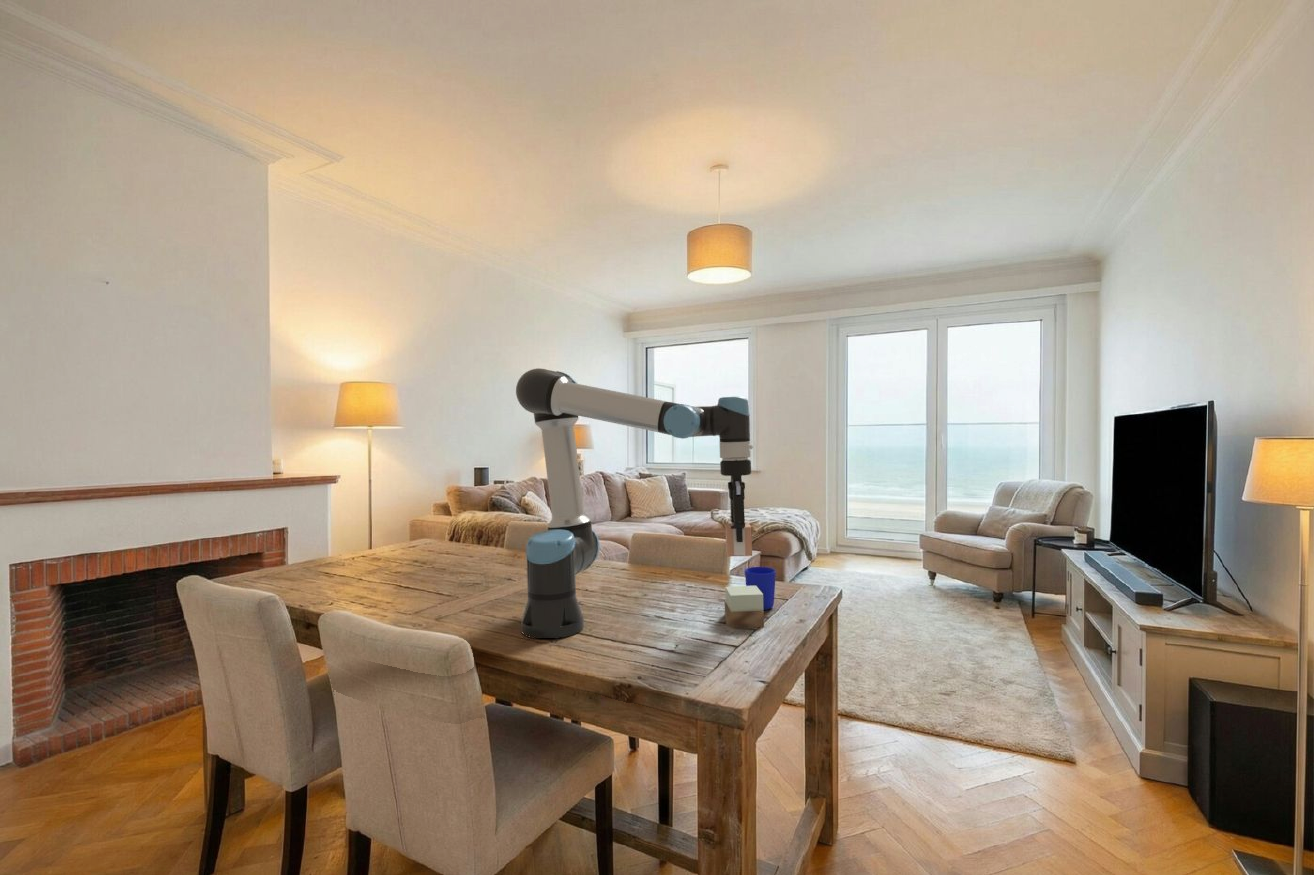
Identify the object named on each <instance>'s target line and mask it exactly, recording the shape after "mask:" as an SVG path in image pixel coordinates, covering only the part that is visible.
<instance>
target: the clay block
mask: <svg viewBox="0 0 1314 875" xmlns="http://www.w3.org/2000/svg"><path fill="white" fill-rule="evenodd" d="M733 525H734V524H733V523H725V524H724V527H725V531H724V532H725V550H726V552H725V553H726V556H727V557H753V544H752V543H753V542H752V541H753V540H752V539H753V537H752V526H751V524H750V523H749V522H745V527H744V528H745V555H734V540H733V529H731V526H733Z"/></svg>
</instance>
